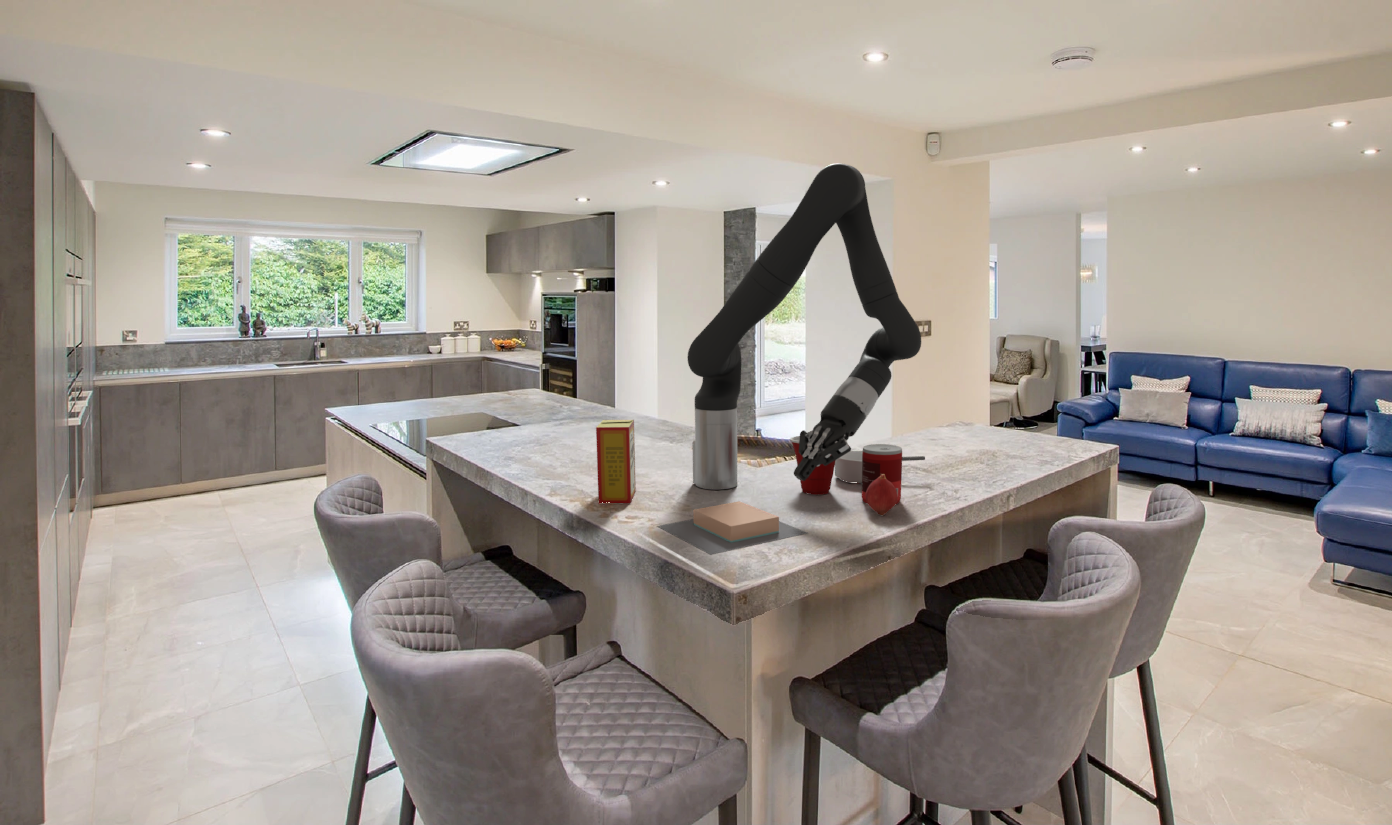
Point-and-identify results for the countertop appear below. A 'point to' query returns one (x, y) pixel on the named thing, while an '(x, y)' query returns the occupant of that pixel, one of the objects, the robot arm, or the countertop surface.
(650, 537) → the countertop surface
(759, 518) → the tile
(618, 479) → the baking soda box
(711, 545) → the mat
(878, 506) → the onion
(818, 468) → the plastic cup
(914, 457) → the saucepan
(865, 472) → the canned food
